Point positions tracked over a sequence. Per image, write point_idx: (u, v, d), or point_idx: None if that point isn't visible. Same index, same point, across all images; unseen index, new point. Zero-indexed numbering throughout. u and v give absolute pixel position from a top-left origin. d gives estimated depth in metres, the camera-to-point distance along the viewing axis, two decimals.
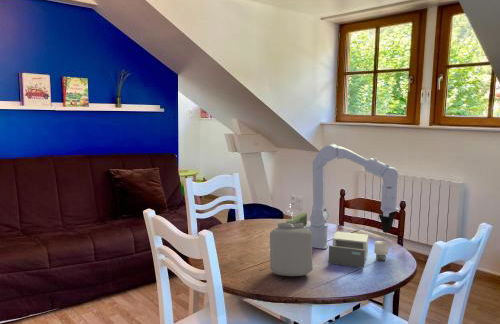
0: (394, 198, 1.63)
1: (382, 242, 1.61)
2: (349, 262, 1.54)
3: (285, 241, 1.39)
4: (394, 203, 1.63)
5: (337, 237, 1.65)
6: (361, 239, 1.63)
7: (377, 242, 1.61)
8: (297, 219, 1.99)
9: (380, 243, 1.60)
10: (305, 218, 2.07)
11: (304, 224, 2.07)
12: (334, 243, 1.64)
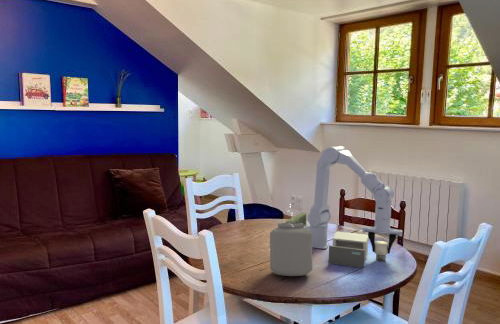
0: (377, 219, 1.57)
1: (382, 242, 1.61)
2: (349, 262, 1.54)
3: (285, 241, 1.39)
4: (378, 224, 1.57)
5: (337, 237, 1.65)
6: (361, 239, 1.63)
7: (377, 242, 1.61)
8: (297, 219, 1.99)
9: (380, 243, 1.60)
10: (304, 218, 2.08)
11: (303, 224, 2.07)
12: (334, 243, 1.64)
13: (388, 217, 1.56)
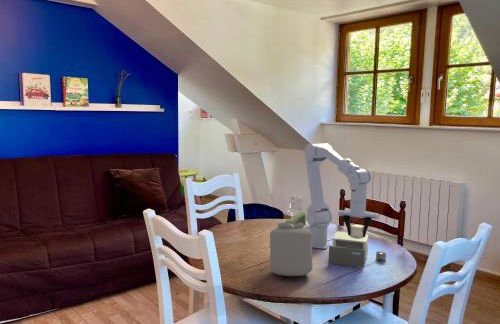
0: (353, 201, 1.55)
1: (358, 225, 1.59)
2: (349, 262, 1.54)
3: (285, 241, 1.39)
4: (353, 207, 1.55)
5: (337, 237, 1.65)
6: (361, 239, 1.63)
7: (353, 226, 1.58)
8: (296, 219, 1.99)
9: (356, 227, 1.57)
10: (304, 218, 2.08)
11: (303, 224, 2.07)
12: (334, 243, 1.64)
13: (361, 200, 1.54)
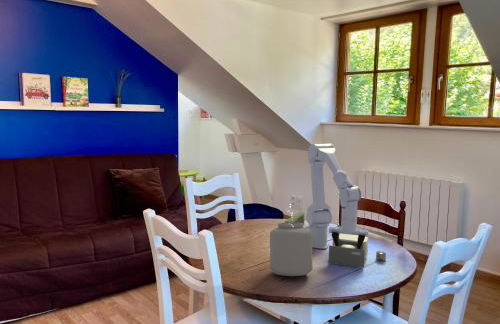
0: (343, 219, 1.55)
1: (349, 245, 1.59)
2: (349, 262, 1.54)
3: (285, 241, 1.39)
4: (343, 224, 1.55)
5: None
6: None
7: (343, 246, 1.59)
8: (295, 219, 2.00)
9: (346, 247, 1.57)
10: (302, 218, 2.08)
11: None
12: (334, 243, 1.64)
13: (350, 217, 1.54)
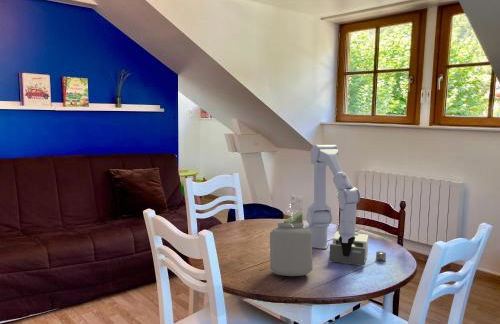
0: (353, 222, 1.51)
1: None
2: (350, 260, 1.56)
3: (285, 241, 1.39)
4: (353, 227, 1.51)
5: (337, 237, 1.65)
6: (361, 239, 1.63)
7: None
8: (294, 219, 2.00)
9: None
10: (301, 217, 2.08)
11: None
12: (334, 243, 1.64)
13: (348, 220, 1.50)
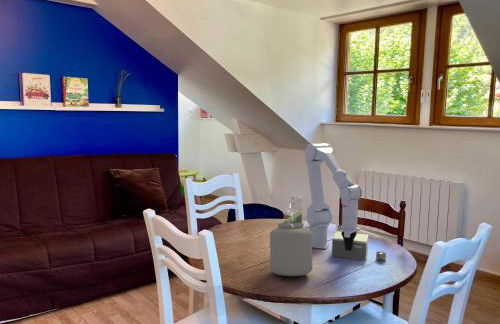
0: (355, 217, 1.57)
1: None
2: (351, 255, 1.62)
3: (285, 241, 1.39)
4: (355, 223, 1.57)
5: (337, 237, 1.65)
6: (361, 239, 1.63)
7: None
8: (294, 219, 2.00)
9: None
10: (300, 217, 2.09)
11: None
12: None
13: (352, 215, 1.56)
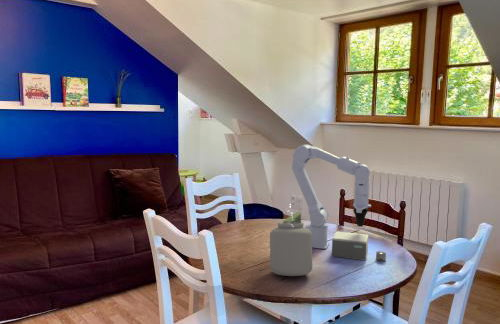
0: (366, 195, 1.67)
1: None
2: (351, 255, 1.62)
3: (285, 241, 1.39)
4: (366, 200, 1.67)
5: (337, 237, 1.65)
6: (361, 239, 1.63)
7: None
8: (293, 218, 2.00)
9: None
10: (299, 217, 2.09)
11: None
12: None
13: (367, 192, 1.67)
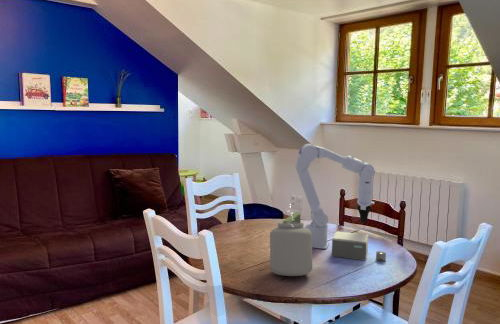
0: (370, 192, 1.72)
1: None
2: (351, 255, 1.62)
3: (285, 241, 1.39)
4: (370, 197, 1.73)
5: (337, 237, 1.65)
6: (361, 239, 1.63)
7: None
8: (293, 218, 2.00)
9: None
10: (299, 217, 2.09)
11: None
12: None
13: None
